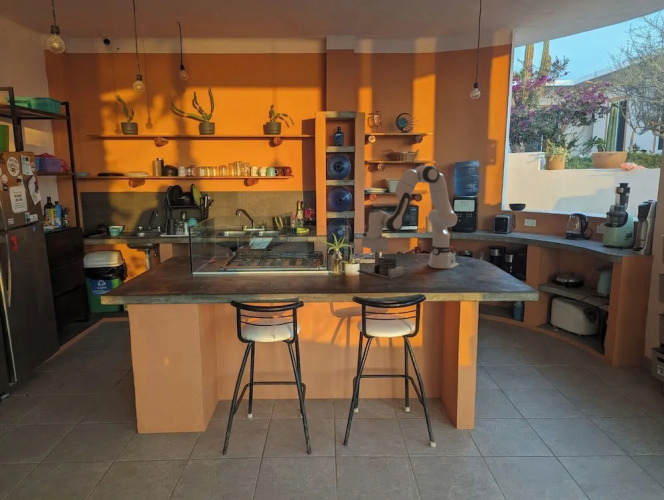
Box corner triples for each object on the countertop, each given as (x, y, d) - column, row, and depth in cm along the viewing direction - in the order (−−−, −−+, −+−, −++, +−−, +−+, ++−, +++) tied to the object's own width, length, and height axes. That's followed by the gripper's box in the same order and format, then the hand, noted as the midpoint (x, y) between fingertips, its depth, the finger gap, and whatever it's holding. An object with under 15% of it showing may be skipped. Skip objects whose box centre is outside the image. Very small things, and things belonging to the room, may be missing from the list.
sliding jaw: (381, 269, 293) (382, 251, 290) (386, 270, 290) (387, 252, 287) (369, 272, 285) (369, 253, 282) (374, 273, 282) (374, 254, 279)
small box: (395, 273, 285) (395, 257, 283) (395, 276, 278) (396, 259, 276) (378, 272, 286) (379, 256, 283) (378, 275, 279) (379, 259, 277)
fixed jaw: (374, 267, 300) (374, 259, 299) (404, 274, 282) (405, 266, 281) (357, 271, 289) (357, 262, 288) (388, 279, 271) (388, 270, 270)
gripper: (390, 236, 280) (389, 257, 283) (367, 232, 295) (366, 252, 297) (384, 237, 276) (383, 259, 278) (360, 233, 290) (359, 253, 293)
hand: (374, 255), depth 288 cm, fingers closed
